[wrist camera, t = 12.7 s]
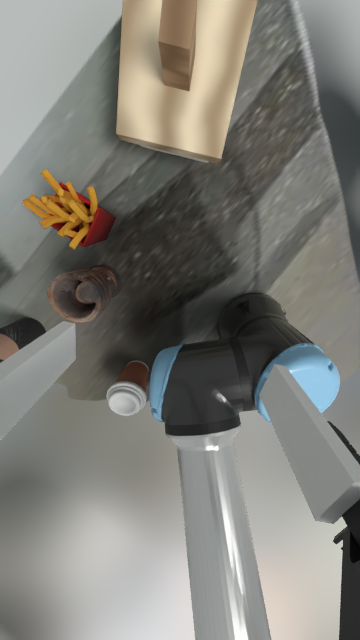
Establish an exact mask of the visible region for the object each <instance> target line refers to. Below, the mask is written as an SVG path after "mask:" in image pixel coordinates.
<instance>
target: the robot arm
mask: <svg viewBox="0 0 360 640" xmlns="http://www.w3.org/2000/svg"><path fill="white" fill-rule="evenodd" d="M219 333H220V336H221V339H218V340H212V341H205V342H198V343H192V344H181V345H179V346H175V347H170V348H166V349H163V350H162V351H160V352H159V354H158V355H157V356H156V359H155V361H154V363H153V367H152V371H151V378H150V406H151V407H152V415H153V417H154V418H155V419H156V420H158V421H160V422H165V433H166V436H167V437H168V438H169V439H170V440H171V441H172V442H173V443H175V445H176V446H177V453H178V463H179V474H180V485H181V495H182V504H183V515H184V526H185V536H186V547H187V557H188V568H189V578H190V588H191V599H192V609H193V619H194V630H195V639H196V640H271V636H270V631H269V625H268V620H267V615H266V609H265V604H264V599H263V593H262V588H261V583H260V578H259V572H258V567H257V561H256V556H255V551H254V546H253V541H252V535H251V530H250V524H249V519H248V514H247V508H246V503H245V498H244V493H243V487H242V482H241V477H240V471H239V466H238V461H237V456H236V450H235V445H234V437H235V435H236V434H237V432H238V431H239V429H240V428H241V422H240V418H239V412H242V411H251V410H258V413H259V414H260V415H261V416H262V417H263V418H264V419H265V420H267V421H268V422H271V423H272V425H273V427H274V429H275V432H276V434H277V436H278V438H279V441H280V443H281V445H282V447H283V449H284V452H285V454H286V456H287V458H288V461H289V463H290V465H291V467H292V470H293V472H294V474H295V476H296V479H297V481H298V483H299V485H300V487H301V490H302V492H303V494H304V496H305V499H306V501H307V503H308V505H309V507H310V510H311V512H312V514H313V516H314V518H315V521H320V522H326V523H332V524H334V523H335V522H336V521H337V520H338V519H339V518H340V517H343V519H344V520H345V522H346V524H347V527H346V528H345V529H343V530H342V531H341V532H340V533H339V534H338V535H336V536H335V538H334V540H333V542H334V543H335V544H337V543H339V542H340V541H341V540H343V547H342V548H341V549H342V550H343V559H342V581H341V582H342V583H341V606H340V607H341V608H340V632H339V633H340V634H339V640H360V456H359V455H358V454H357V453H356V450H355V449H354V448H353V447H352V445H350V444H349V441H348V440H347V439H346V438H345V436H344V435H343V434H342V433H341V432H340V431H339V430H338V429H337V428H336V427H335V426H334V425H333V424H332V423H331V422H329V421H326V419H325V418H324V417H323V416H322V414H321V413H322V412H323V411H324V410H325V409H326V408H328V407H329V406H330V405H331V403H332V402H333V400H334V399H335V397H336V395H337V393H338V390H339V385H340V378H339V373H338V370H337V368H336V366H335V365H334V363H333V362H332V361H331V360H330V359H329V358H328V357H327V356H326V355H325V354H324V352H323V351H322V349H321V348H319V347H318V346H316V345H315V344H314V343H313V342H311V341H310V340H309V339H308V338H306V337H305V336H304V335H303V334H302V333H300V332H299V331H298V330H297V329H295V328H294V327H293V326H292V325H290V324H289V322H288V319H287V315H286V312H285V310H284V309H283V307H282V306H281V305H280V304H279V303H278V302H277V301H275V300H274V299H272V298H271V297H269V296H266V295H263V294H247V295H243V296H241V297H238V298H236V299H235V300H233V301H232V302H231V303H229V304H228V305H227V306H226V308H225V309H224V310H223V312H222V314H221V316H220V319H219ZM75 360H76V342H75V323H70V322H65V321H62V322H61V323H59V324H58V325H56V326H55V327H53V328H52V329H50V330H49V331H47V332H46V333H45V334H43V335H42V336H40V337H39V338H37V339H36V340H34V341H33V342H31V343H30V344H28V345H27V346H25V347H24V348H22V349H21V350H19V351H18V352H16V353H15V354H13V355H12V356H10V357H9V358H7V359H6V360H1V359H0V440H1V439H2V438H3V437H4V436H5V435H6V434H7V433H8V432H9V431H10V430H11V429H12V428H13V426H14V425H15V424H16V423H17V422H18V421H19V420H20V419H21V418H22V417H23V416H24V415H25V413H26V412H27V411H28V410H29V409H30V408H31V407H32V406H33V405H34V404H35V403H36V402H37V400H38V399H39V398H40V397H41V396H42V395H43V394H44V393H45V392H46V391H47V390H48V389H49V387H50V386H51V385H52V384H53V383H54V382H55V381H56V380H57V379H58V378H59V377H60V376H61V375H62V374H63V372H64V371H65V370H66V369H67V368H68V367H69V366H70V365H71V364H72V363H73V362H74V361H75Z"/></svg>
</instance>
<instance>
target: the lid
mask: <svg viewBox="0 0 360 640" xmlns="http://www.w3.org/2000/svg"><path fill="white" fill-rule="evenodd" d="M256 4H257V0H123V8H122V28H121V47H120V67H119V87H118V107H117V126H116V134H117V136H118V137H119V139H120V140H121V141H125V142H130V143H134V144H138V145H142V146H146V147H150V148H155V149H159V150H163V151H167V152H171V153H176V154H180V155H184V156H188V157H192V158H196V159H201V160H205V161H209V162H213V163H217V164H219V162H220V160H221V157H222V152H223V148H224V144H225V139H226V135H227V130H228V126H229V122H230V117H231V113H232V109H233V104H234V100H235V96H236V91H237V87H238V83H239V78H240V74H241V70H242V65H243V61H244V57H245V52H246V48H247V44H248V39H249V35H250V30H251V26H252V22H253V17H254V13H255V9H256Z"/></svg>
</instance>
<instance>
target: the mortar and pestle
mask: <svg viewBox="0 0 360 640" xmlns="http://www.w3.org/2000/svg"><path fill="white" fill-rule="evenodd" d="M120 290H121V281H120V278H119V276H118V274H117V273H116V272H115V271H114V270H113V269H112V268H110V267H107V266H96V267H94V268H93V269H92V270H91V269H79V270H74V271H70V272H65V273H61V274H59V275H57V276H55V277H54V278H53V279H52V281H51V282H50V285H49V287H48V290H47V296H48V298H49V301H50V303H51V305H52V307H53V308H54V309H55V311H56V312H57V313H58V314H59V315H62V316H63V317H64V318H66V319H68V320H71V321H73V322H79V323H84V322H89V321H91V320H93V319H94V318H95V317H97V316H98V315H99V314H100V313H101V312H102V311H103V310H104V309H105V308H106V307H107V305H108V304H109V302H110V300H111V298H112V297H114V296H116V295H117V294H118V293H119V291H120Z"/></svg>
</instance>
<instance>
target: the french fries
mask: <svg viewBox="0 0 360 640" xmlns="http://www.w3.org/2000/svg"><path fill="white" fill-rule="evenodd" d="M40 174H41V175H42V176H43V177H44V178H45V180H46V181H47V182H48V183H49V184H50V185H51V186H52V188H53V189H54V190H55V192H56V195H55V196H53V195H43V196H42V201H41V200H40V199H38V198H37V197H36V196H35V195H33V194H32V195H31V196H30V197H29V199H30V200H31V201H32V202H31V201H30V200H29V199H28V198H27V199H25V200H23V202H22V203H23V204H24V205H25V206H26V207H27V208H29V209H30V210H31V211H32V212H34V213H35V214H37V215H38V216H39V217H41V218H43V219H45V220H43V221H41V222H39V223H40V224H41V225H42V226H43V227H44V228H45V229H46V228H47V227H49V226H52V227H53V228H55V229H57V230H58V231H59V232H58V235H59V236H61V237H63V238H64V237H65V236H68V237H69V238H71V239H72V241H71V243H70V244H69V247H71V248H73V249H74V250H75V249H76V247H77V246H78V244H80V245H82V246H83V247H86V246H89V245H92V244H95V243H97V242H100V241H103V240H106V238H107V236H108V234H109V232H110V229H111V227H112V225H113V223H114V221H115V218H116V217H114V216H113V215H112V214H110V213H109V212H107V211H106V210H104V209H103V208H101V207H100V206H99V205H97V198H96V194H95V190H94V187H92V186H90V187H88V188H87V190H88V193H89V197H90V200H89V199H88V198H86V197H84V196H82V195H81V194H79V193H77V192H76V191H75V190H74V188H73V186H72V184H71V182H67V183H66V185H67V186H66V185H64V184H62V183H59V184H58V183H57V181H56V180H55V179H54V178H53V176H52V175H51V174H50V173H49V172H48V171H47V170H46V169H45V170H44V171H42V172H41V173H40ZM34 203H35V204H36V205H38V206H39V207H40V208H42V209H43V210H45V211H46V212H48V213H50V214H48V213H46V212H44V211H42V210H41V209H40V208H39V207H37V206H36V205H35V204H34Z"/></svg>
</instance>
